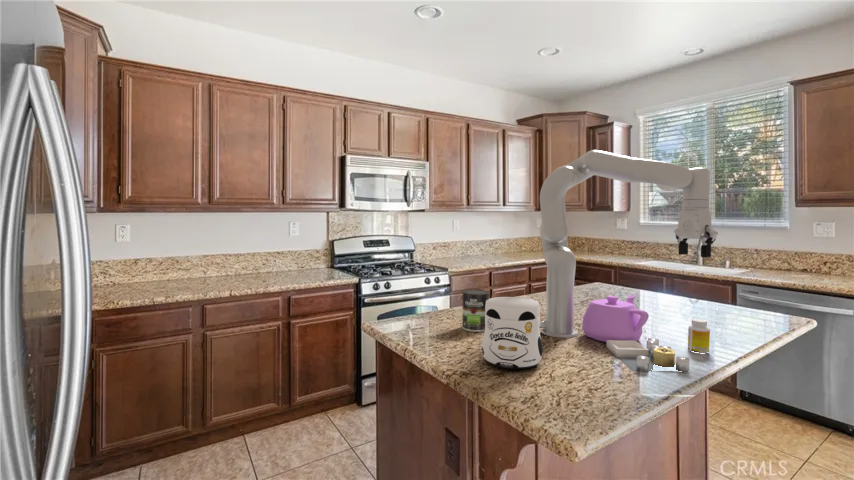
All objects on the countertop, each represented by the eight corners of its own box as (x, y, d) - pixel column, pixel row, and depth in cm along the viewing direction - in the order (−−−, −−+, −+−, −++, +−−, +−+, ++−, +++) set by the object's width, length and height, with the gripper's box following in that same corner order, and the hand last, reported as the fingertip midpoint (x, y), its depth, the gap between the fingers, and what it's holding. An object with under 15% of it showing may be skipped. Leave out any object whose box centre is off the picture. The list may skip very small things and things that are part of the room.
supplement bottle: (713, 355, 125) (714, 322, 124) (695, 355, 125) (697, 322, 124) (700, 349, 130) (701, 317, 130) (683, 349, 130) (684, 318, 130)
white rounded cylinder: (497, 377, 109) (498, 310, 107) (472, 356, 125) (472, 297, 124) (554, 370, 113) (555, 306, 112) (523, 350, 130) (523, 294, 129)
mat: (632, 372, 112) (632, 370, 112) (606, 348, 132) (606, 347, 132) (690, 373, 111) (690, 372, 111) (655, 349, 130) (655, 348, 130)
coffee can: (487, 333, 149) (487, 294, 149) (459, 330, 152) (459, 293, 152) (491, 325, 159) (491, 289, 158) (465, 323, 162) (465, 288, 161)
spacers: (639, 371, 111) (639, 359, 111) (611, 347, 131) (612, 337, 131) (691, 373, 110) (691, 360, 110) (655, 348, 130) (656, 338, 130)
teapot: (633, 354, 126) (634, 306, 126) (574, 337, 144) (575, 295, 143) (670, 341, 139) (671, 297, 138) (612, 327, 157) (613, 288, 156)
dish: (617, 357, 123) (617, 349, 123) (606, 347, 132) (606, 340, 132) (648, 357, 122) (648, 349, 122) (635, 347, 131) (635, 340, 131)
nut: (657, 367, 114) (658, 353, 114) (649, 360, 119) (649, 347, 119) (679, 367, 114) (679, 353, 114) (670, 361, 119) (670, 347, 119)
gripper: (667, 205, 146) (665, 253, 147) (706, 204, 129) (704, 258, 130) (685, 205, 147) (684, 253, 148) (727, 204, 130) (725, 258, 131)
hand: (694, 255), depth 139 cm, fingers open, 9 cm apart
